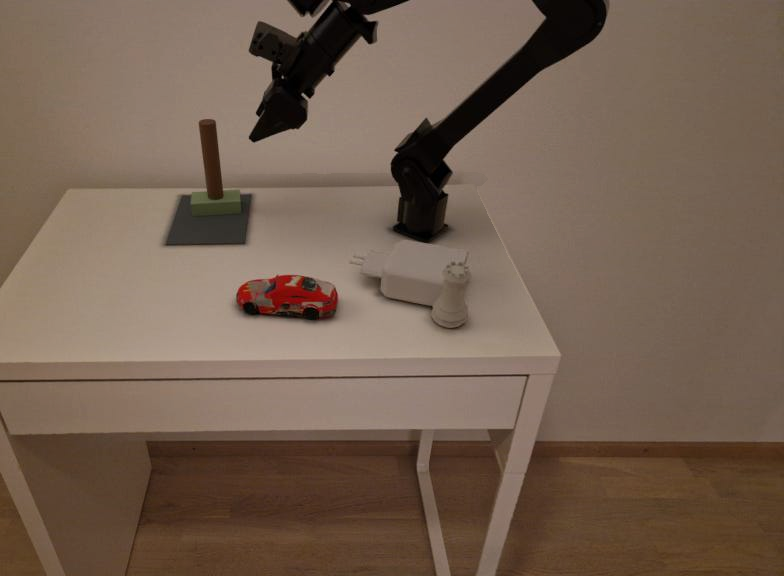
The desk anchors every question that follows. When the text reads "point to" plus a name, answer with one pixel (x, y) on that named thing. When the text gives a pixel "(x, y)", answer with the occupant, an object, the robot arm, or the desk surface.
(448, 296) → the rook chess piece
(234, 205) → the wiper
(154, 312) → the desk surface
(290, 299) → the race car
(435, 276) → the charger
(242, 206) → the mat
